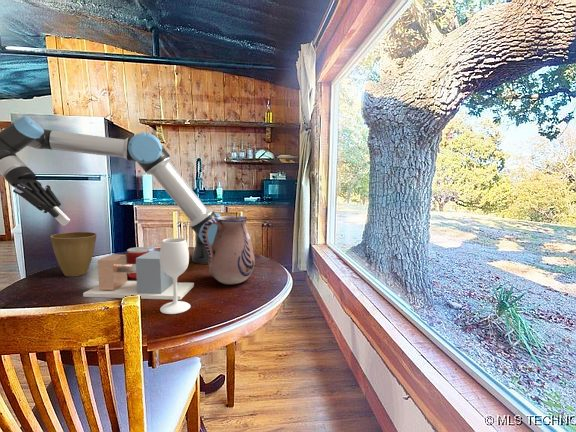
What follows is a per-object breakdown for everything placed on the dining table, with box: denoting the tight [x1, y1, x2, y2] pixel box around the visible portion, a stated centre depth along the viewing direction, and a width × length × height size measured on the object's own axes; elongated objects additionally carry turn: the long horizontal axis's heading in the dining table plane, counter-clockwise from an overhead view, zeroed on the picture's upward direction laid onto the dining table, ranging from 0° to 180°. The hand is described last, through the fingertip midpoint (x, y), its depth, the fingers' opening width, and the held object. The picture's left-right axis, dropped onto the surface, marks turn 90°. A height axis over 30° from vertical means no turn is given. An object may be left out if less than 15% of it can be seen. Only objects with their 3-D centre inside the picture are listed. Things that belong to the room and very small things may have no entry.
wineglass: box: [159, 237, 191, 315], centre depth 89 cm, size 9×9×21 cm
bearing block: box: [82, 250, 195, 301], centre depth 103 cm, size 32×13×13 cm, turn 89°
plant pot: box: [50, 231, 98, 277], centre depth 120 cm, size 15×15×16 cm
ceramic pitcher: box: [202, 215, 256, 285], centre depth 114 cm, size 18×21×25 cm
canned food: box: [126, 246, 150, 280], centre depth 119 cm, size 8×8×11 cm
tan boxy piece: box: [97, 253, 136, 290], centre depth 103 cm, size 20×8×10 cm, turn 89°
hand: (66, 222), depth 104 cm, fingers closed
